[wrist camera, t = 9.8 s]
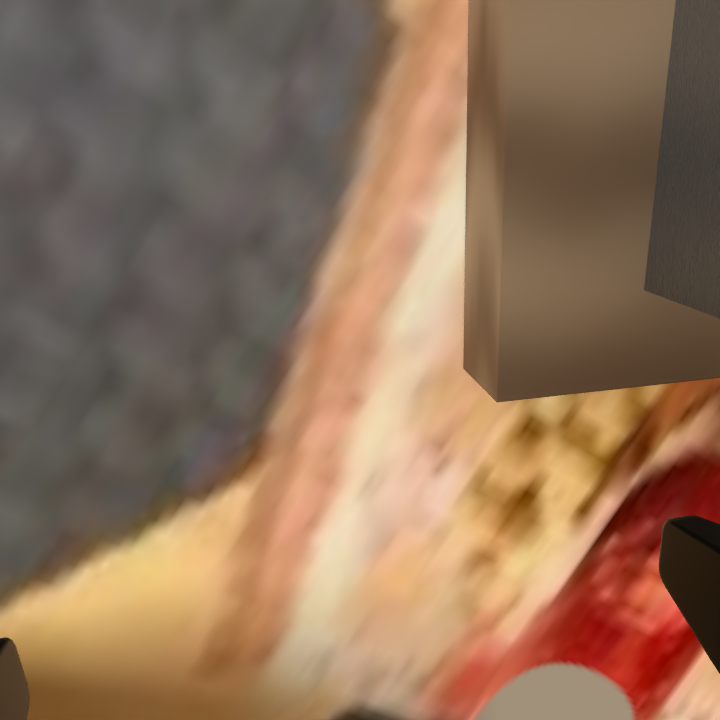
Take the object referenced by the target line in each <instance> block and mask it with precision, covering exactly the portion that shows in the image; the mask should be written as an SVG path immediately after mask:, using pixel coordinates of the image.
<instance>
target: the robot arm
mask: <svg viewBox="0 0 720 720" xmlns="http://www.w3.org/2000/svg"><path fill="white" fill-rule="evenodd" d="M659 573H660V577H661V579H662V582H663V584H664V585H665V587H666V589H667V590H668V592H669V594H670V595H671V597H672V598H673V600H674V602H675V603H676V605H677V606H678V608H679V610H680V611H681V613H682V614H683V616H684V618H685V619H686V621H687V623H688V624H689V626H690V627H691V629H692V631H693V632H694V634H695V635H696V637H697V639H698V640H699V642H700V643H701V645H702V647H703V648H704V650H705V651H706V653H707V655H708V656H709V658H710V660H711V661H712V663H713V664H714V666H715V667H716V669H717V670H718V672H719V673H720V524H718V523H715V522H713V521H710V520H707V519H704V518H701V517H698V516H695V515H688V516H682V517H677V518H671V519H669V520H667V521H666V522H665V523H664V525H663V529H662V538H661V547H660V557H659ZM28 709H29V688H28V684H27V681H26V678H25V674H24V671H23V668H22V665H21V661H20V658H19V655H18V652H17V648H16V646H15V644H14V642H13V641H12V640H11V639H9V638H0V720H27V715H28Z"/></svg>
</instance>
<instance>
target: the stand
mask: <svg viewBox="0 0 720 720" xmlns="http://www.w3.org/2000/svg"><path fill="white" fill-rule="evenodd" d="M675 2H676V0H469V22H468V92H467V162H466V232H465V303H464V369H465V370H466V371H467V372H468V374H469V375H470V376H471V377H472V378H473V379H474V380H475V381H476V382H477V383H478V384H479V385H480V386H481V387H482V388H483V389H484V390H485V391H486V392H487V393H488V394H489V395H490V396H491V397H492V398H493V399H494V400H495V401H496V402H504V401H513V400H522V399H531V398H540V397H549V396H558V395H567V394H576V393H586V392H595V391H604V390H613V389H622V388H631V387H640V386H649V385H658V384H667V383H676V382H686V381H695V380H704V379H713V378H720V319H719V318H716V317H714V316H711V315H708V314H706V313H703V312H701V311H698V310H695V309H693V308H690V307H687V306H685V305H682V304H679V303H677V302H674V301H671V300H669V299H666V298H663V297H661V296H658V295H655V294H653V293H650V292H647V291H645V290H644V284H645V275H646V265H647V256H648V247H649V238H650V229H651V220H652V211H653V202H654V193H655V184H656V175H657V166H658V157H659V148H660V139H661V129H662V120H663V111H664V102H665V93H666V84H667V75H668V66H669V57H670V48H671V39H672V30H673V21H674V12H675Z"/></svg>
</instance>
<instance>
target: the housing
mask: <svg viewBox="0 0 720 720" xmlns="http://www.w3.org/2000/svg"><path fill="white" fill-rule="evenodd" d="M644 290H645V291H647V292H650V293H653V294H655V295H658V296H661V297H663V298H666V299H669V300H671V301H674V302H677V303H679V304H682V305H685V306H687V307H690V308H693V309H695V310H698V311H701V312H703V313H706V314H708V315H711V316H714V317H716V318H719V319H720V0H676V2H675V12H674V21H673V30H672V39H671V48H670V57H669V66H668V75H667V84H666V93H665V102H664V111H663V120H662V129H661V139H660V148H659V157H658V166H657V175H656V184H655V193H654V202H653V211H652V220H651V229H650V238H649V247H648V256H647V265H646V275H645V284H644Z"/></svg>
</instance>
